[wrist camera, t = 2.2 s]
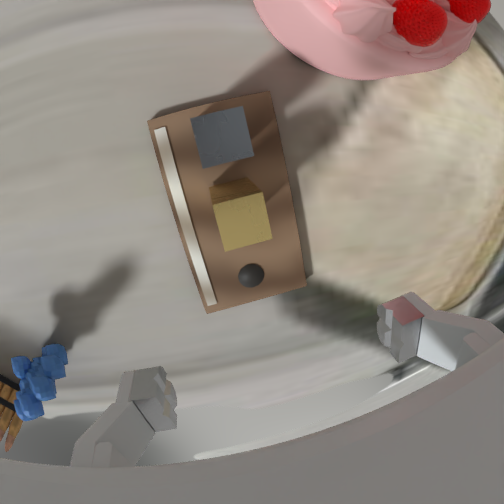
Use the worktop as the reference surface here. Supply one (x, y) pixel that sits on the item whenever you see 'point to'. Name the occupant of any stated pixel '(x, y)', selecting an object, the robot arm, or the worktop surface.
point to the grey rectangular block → (222, 137)
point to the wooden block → (240, 213)
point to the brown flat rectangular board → (203, 217)
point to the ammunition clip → (8, 411)
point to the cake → (374, 33)
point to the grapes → (38, 380)
